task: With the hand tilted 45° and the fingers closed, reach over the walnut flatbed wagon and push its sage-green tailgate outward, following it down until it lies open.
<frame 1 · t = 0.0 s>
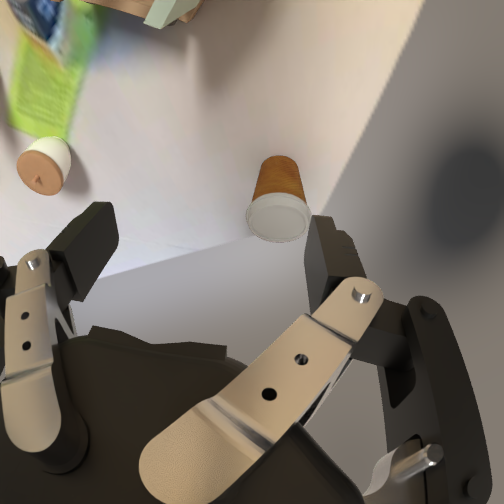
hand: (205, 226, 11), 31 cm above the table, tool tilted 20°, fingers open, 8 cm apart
disposable coffee cup: (279, 169, 49), on the table
lidded jar: (57, 147, 45), on the table
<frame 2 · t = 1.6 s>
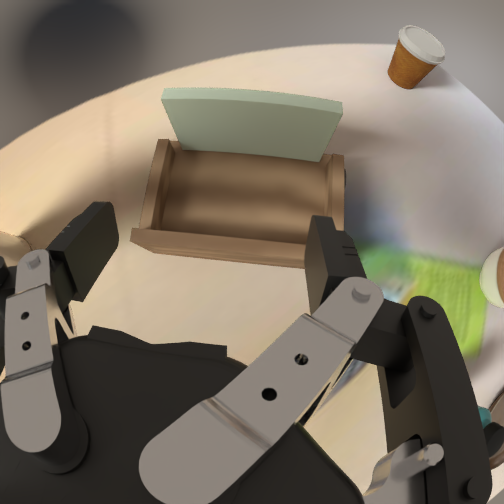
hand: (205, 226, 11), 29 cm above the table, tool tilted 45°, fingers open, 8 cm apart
disposable coffee cup: (401, 78, 46), on the table
beverage bottle: (415, 399, 37), on the table
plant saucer: (500, 423, 36), on the table
lidded jar: (488, 280, 40), on the table
flatbed: (251, 154, 42), on the table
tailgate: (251, 123, 33), point 9 cm above the table, hinge at 0.0°
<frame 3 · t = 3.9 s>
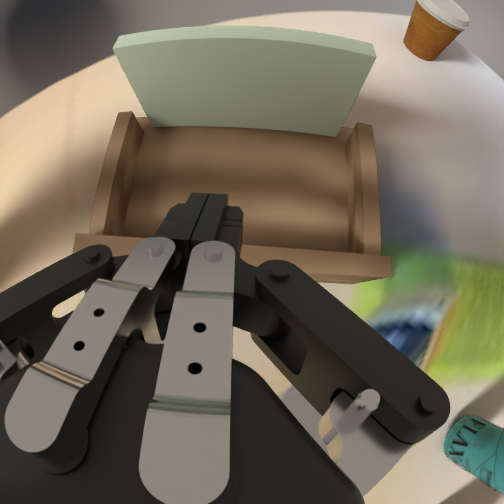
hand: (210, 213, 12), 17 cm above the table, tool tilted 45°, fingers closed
disposable coffee cup: (418, 49, 35), on the table
beverage bottle: (454, 432, 26), on the table
flatbed: (244, 131, 31), on the table
tailgate: (243, 81, 22), point 9 cm above the table, hinge at 0.0°
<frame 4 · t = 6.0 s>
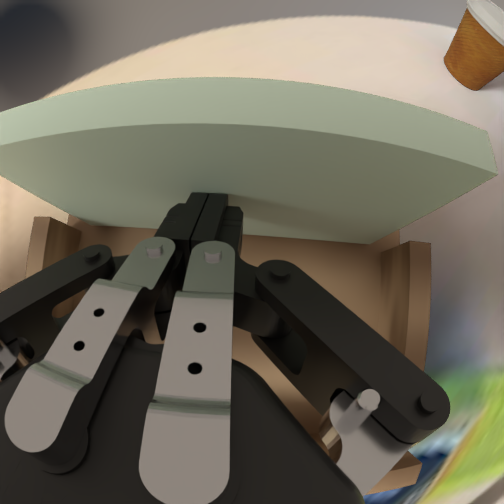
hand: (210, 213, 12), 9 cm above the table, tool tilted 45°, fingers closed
disposable coffee cup: (461, 73, 26), on the table
flatbed: (229, 221, 22), on the table
tailgate: (213, 177, 13), point 9 cm above the table, hinge at 0.3°, touching gripper
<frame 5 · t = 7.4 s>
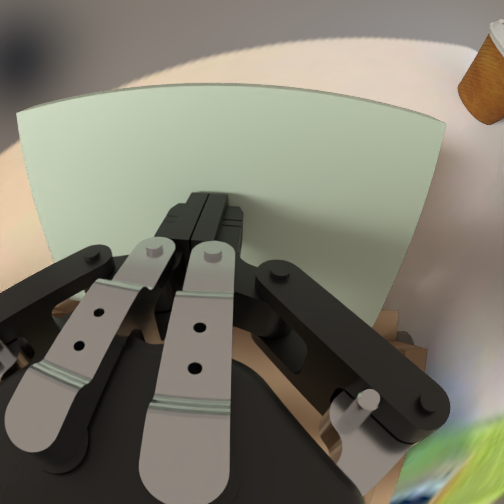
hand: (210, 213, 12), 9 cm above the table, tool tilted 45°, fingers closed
disposable coffee cup: (475, 103, 24), on the table
flatbed: (219, 301, 21), on the table
tailgate: (210, 215, 14), point 8 cm above the table, hinge at 45.1°, touching gripper
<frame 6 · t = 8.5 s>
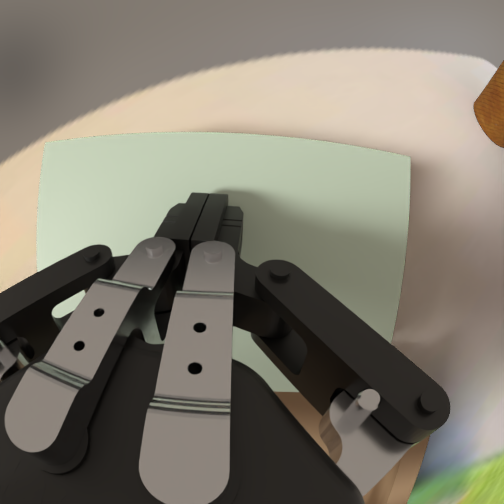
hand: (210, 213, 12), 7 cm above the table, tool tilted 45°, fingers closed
disposable coffee cup: (491, 123, 22), on the table
flatbed: (209, 363, 18), on the table
tailgate: (204, 263, 14), point 5 cm above the table, hinge at 75.4°
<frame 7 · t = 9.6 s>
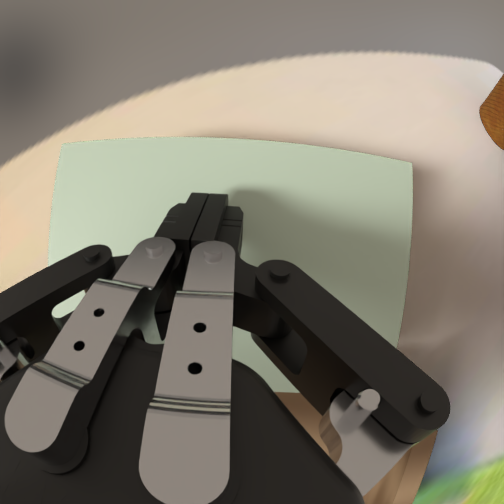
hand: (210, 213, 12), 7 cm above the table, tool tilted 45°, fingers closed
disposable coffee cup: (497, 128, 22), on the table
flatbed: (217, 366, 18), on the table
tailgate: (216, 264, 14), point 5 cm above the table, hinge at 79.3°
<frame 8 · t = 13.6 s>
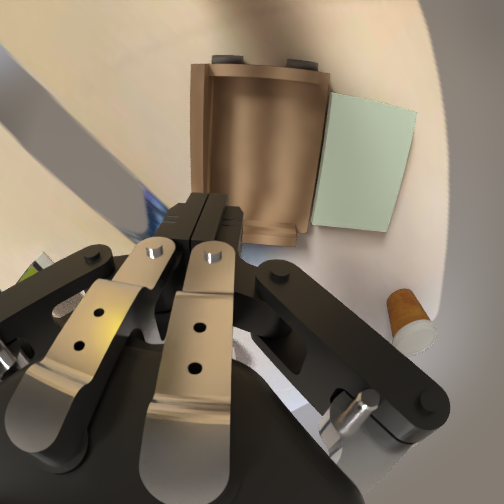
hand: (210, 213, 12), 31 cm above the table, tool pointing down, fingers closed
disposable coffee cup: (399, 298, 57), on the table
flatbed: (315, 152, 41), on the table
tea box: (46, 276, 60), on the table
tailgate: (362, 166, 38), point 3 cm above the table, hinge at 90.1°
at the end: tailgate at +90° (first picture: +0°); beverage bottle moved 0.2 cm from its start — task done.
